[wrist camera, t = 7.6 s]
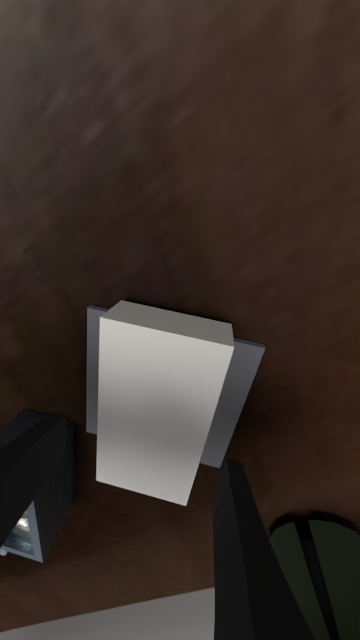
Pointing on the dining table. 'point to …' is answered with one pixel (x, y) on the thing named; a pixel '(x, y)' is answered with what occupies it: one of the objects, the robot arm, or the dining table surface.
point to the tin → (42, 495)
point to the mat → (228, 403)
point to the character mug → (323, 576)
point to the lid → (157, 396)
